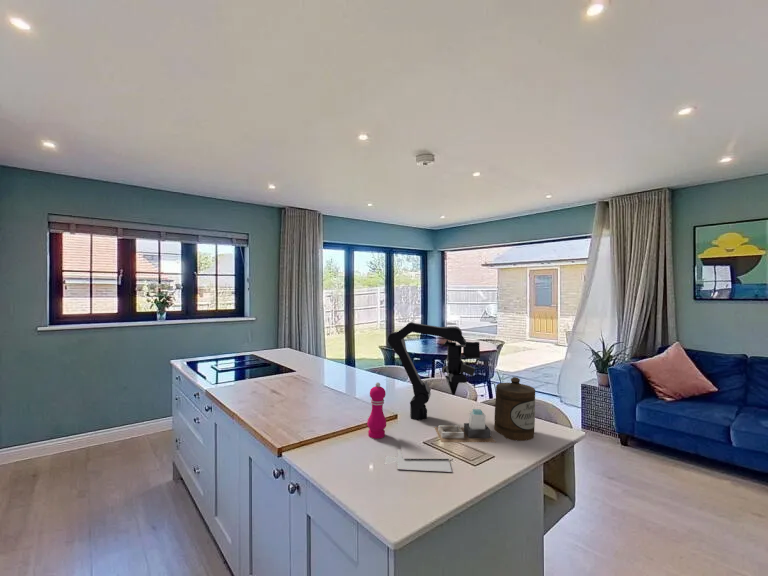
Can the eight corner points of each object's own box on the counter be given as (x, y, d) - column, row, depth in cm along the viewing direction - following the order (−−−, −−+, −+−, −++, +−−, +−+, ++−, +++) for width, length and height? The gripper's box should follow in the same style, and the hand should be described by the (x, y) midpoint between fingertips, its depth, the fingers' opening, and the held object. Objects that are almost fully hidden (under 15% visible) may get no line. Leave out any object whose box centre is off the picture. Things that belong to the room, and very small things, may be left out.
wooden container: (521, 444, 136) (522, 384, 136) (486, 431, 148) (488, 376, 147) (541, 435, 146) (543, 378, 145) (507, 423, 157) (509, 371, 157)
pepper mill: (384, 440, 137) (385, 385, 137) (364, 438, 138) (366, 384, 138) (387, 432, 144) (389, 380, 144) (369, 430, 145) (370, 379, 145)
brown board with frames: (441, 444, 134) (441, 433, 134) (434, 429, 148) (434, 419, 148) (496, 445, 135) (496, 433, 135) (483, 430, 149) (484, 420, 149)
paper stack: (456, 491, 104) (456, 488, 104) (367, 486, 105) (367, 483, 105) (446, 453, 128) (446, 451, 128) (373, 450, 129) (373, 448, 129)
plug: (471, 436, 140) (472, 412, 140) (468, 432, 144) (469, 408, 144) (484, 436, 140) (485, 412, 140) (481, 432, 144) (482, 408, 144)
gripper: (480, 362, 146) (479, 401, 146) (467, 353, 165) (466, 388, 165) (452, 361, 146) (451, 401, 146) (442, 353, 164) (441, 388, 165)
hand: (453, 394), depth 155 cm, fingers closed
